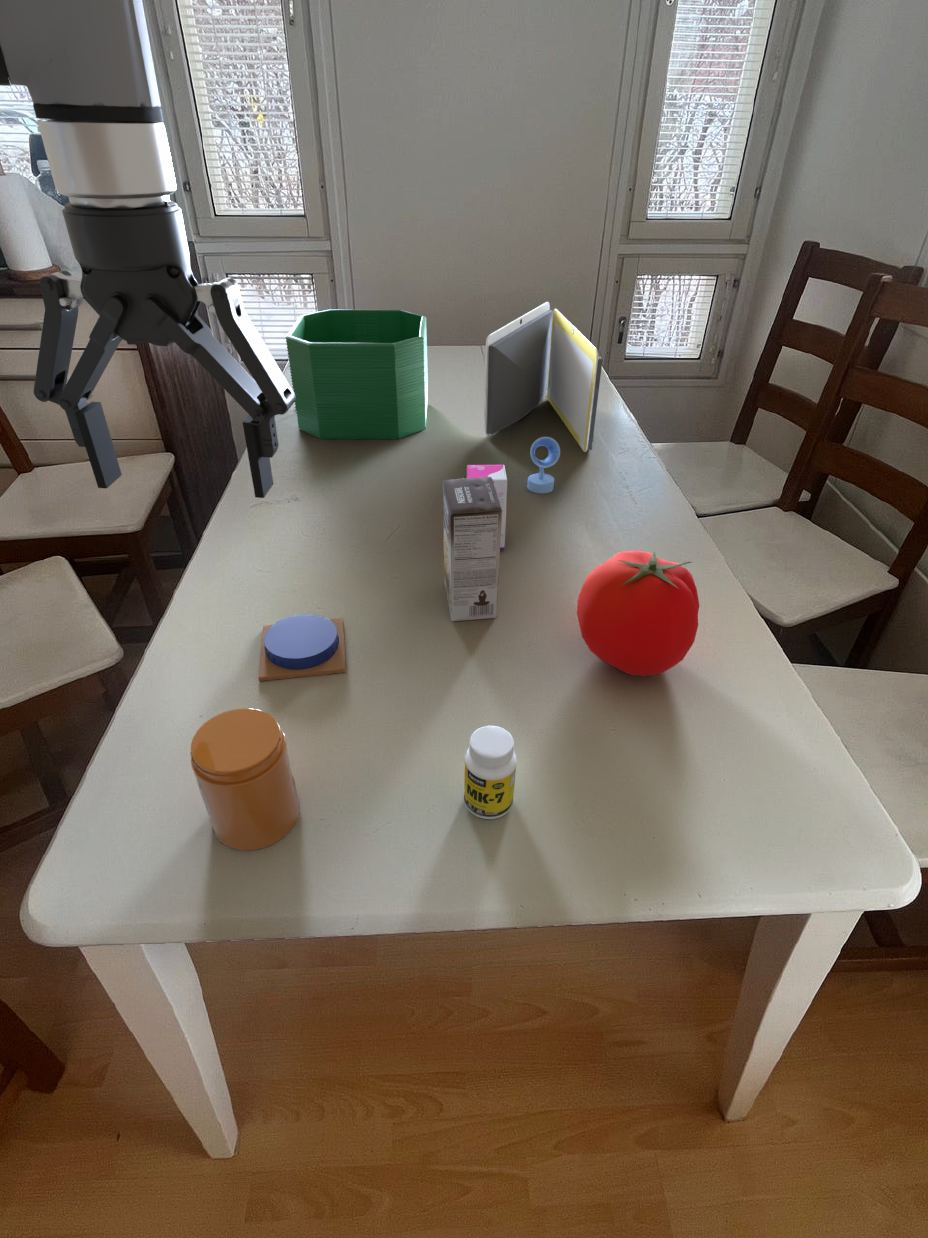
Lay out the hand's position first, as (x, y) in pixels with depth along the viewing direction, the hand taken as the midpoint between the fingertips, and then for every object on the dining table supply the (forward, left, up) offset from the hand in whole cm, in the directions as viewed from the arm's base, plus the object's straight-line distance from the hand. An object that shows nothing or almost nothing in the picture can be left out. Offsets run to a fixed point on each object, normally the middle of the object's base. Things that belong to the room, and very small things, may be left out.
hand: (187, 486), depth 60 cm
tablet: (+51, +78, -28) cm, 97 cm away
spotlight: (+46, +48, -28) cm, 72 cm away
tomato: (+45, +3, -28) cm, 53 cm away
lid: (+6, +10, -25) cm, 28 cm away
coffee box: (+28, +17, -28) cm, 43 cm away
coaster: (+6, +10, -27) cm, 30 cm away
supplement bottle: (+24, -16, -28) cm, 40 cm away
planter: (+18, +87, -28) cm, 93 cm away
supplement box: (+33, +32, -28) cm, 54 cm away
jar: (+2, -14, -27) cm, 31 cm away
